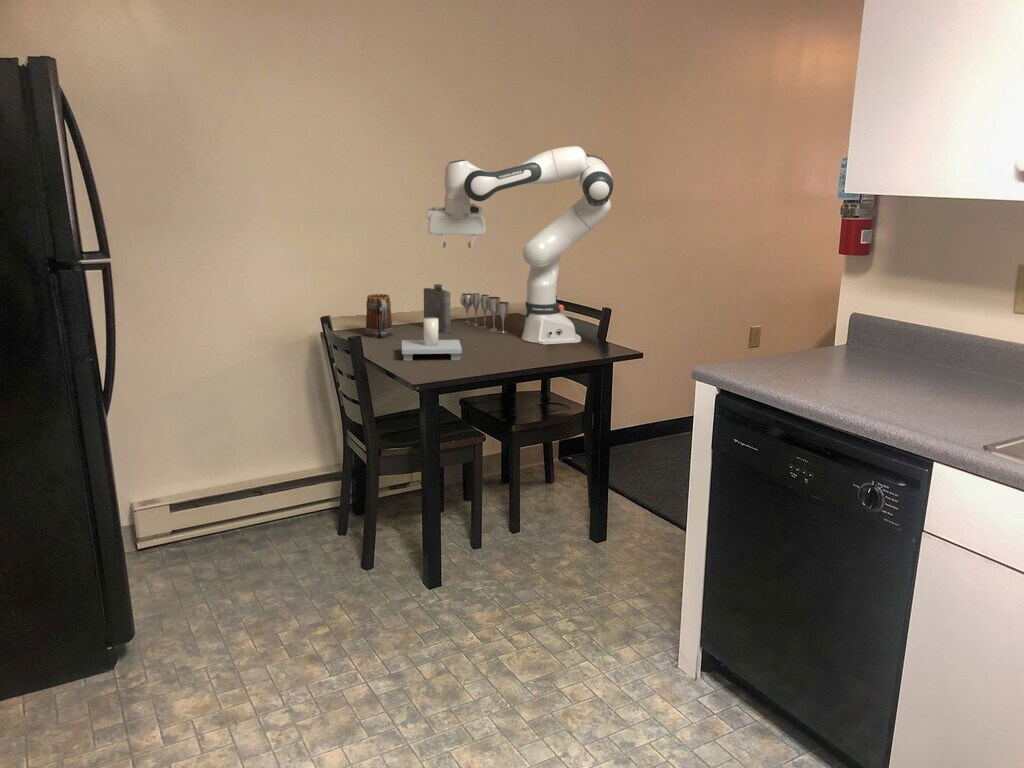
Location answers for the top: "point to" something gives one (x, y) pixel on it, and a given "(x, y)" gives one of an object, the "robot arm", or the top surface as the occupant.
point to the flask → (438, 306)
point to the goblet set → (485, 305)
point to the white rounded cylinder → (430, 331)
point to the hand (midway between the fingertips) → (456, 247)
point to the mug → (378, 316)
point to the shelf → (431, 348)
